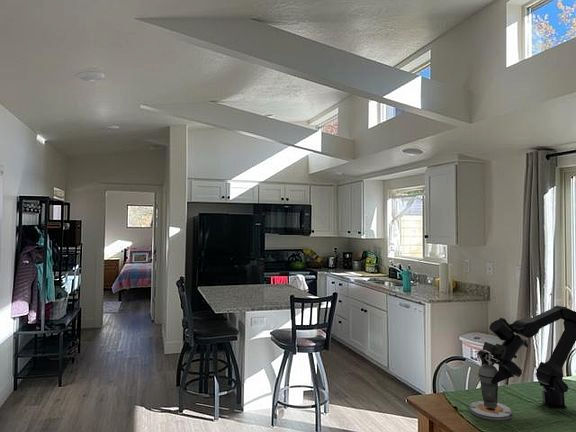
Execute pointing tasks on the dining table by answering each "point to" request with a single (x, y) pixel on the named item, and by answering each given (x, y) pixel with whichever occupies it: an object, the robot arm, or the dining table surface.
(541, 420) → the dining table surface
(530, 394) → the dining table surface
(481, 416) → the base
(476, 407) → the disc
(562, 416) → the dining table surface
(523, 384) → the dining table surface
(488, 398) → the beverage cup
